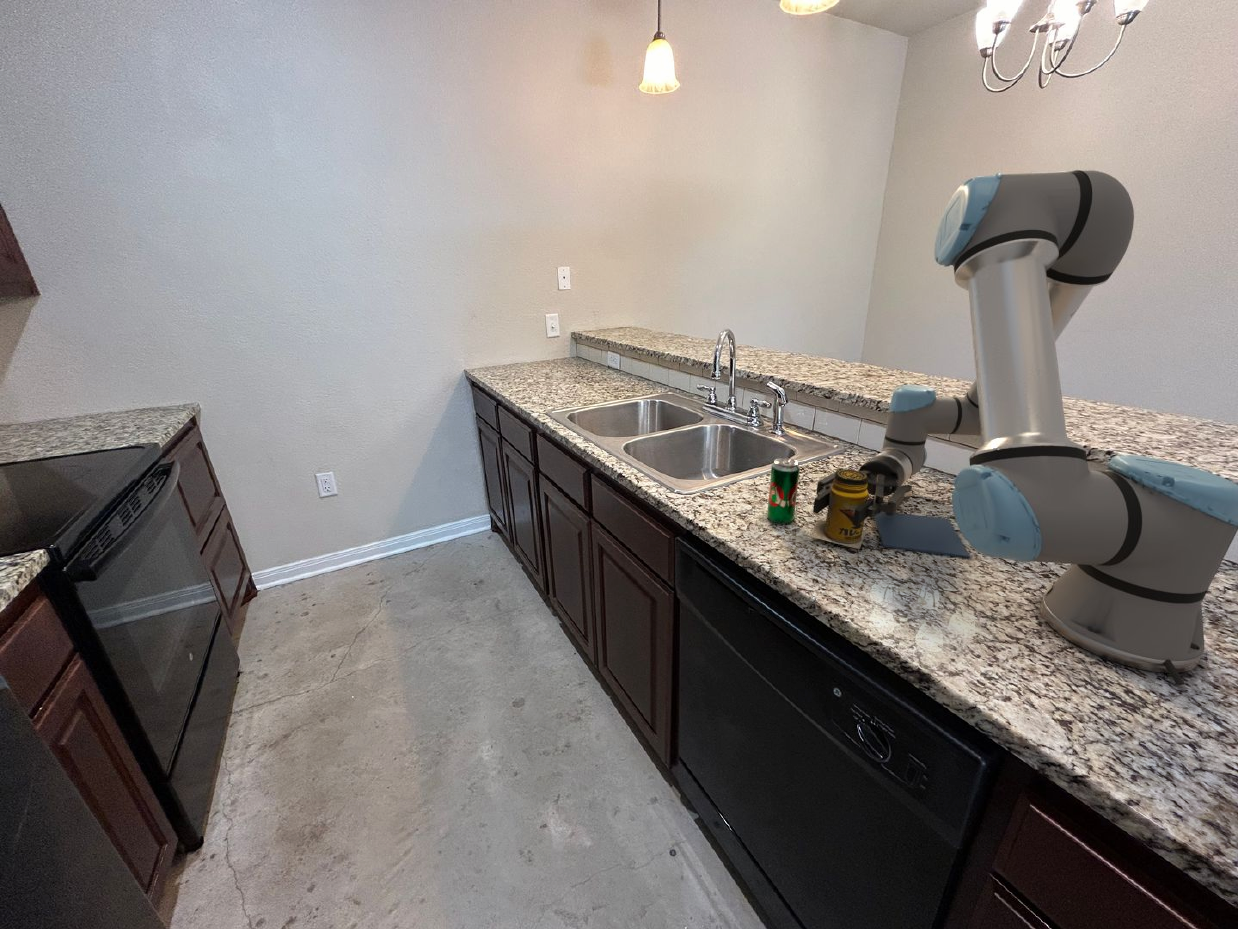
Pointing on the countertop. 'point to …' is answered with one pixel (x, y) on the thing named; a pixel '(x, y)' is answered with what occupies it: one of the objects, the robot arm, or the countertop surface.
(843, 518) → the condiment
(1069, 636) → the robot arm
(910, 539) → the blue mat
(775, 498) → the soda can
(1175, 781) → the countertop surface
